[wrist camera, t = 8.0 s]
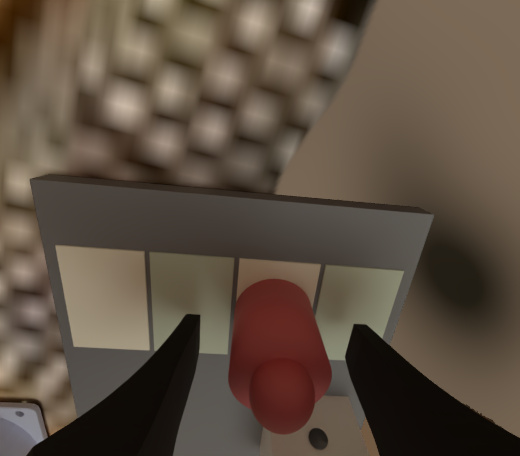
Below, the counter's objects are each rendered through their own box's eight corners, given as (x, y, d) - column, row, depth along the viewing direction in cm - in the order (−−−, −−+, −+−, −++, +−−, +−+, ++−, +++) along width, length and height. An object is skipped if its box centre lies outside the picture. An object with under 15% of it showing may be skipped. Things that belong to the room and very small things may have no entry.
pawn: (232, 339, 15) (219, 464, 9) (237, 275, 13) (227, 378, 8) (304, 344, 15) (333, 468, 10) (317, 281, 14) (360, 385, 8)
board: (95, 441, 19) (85, 462, 18) (49, 174, 13) (27, 179, 11) (342, 448, 20) (348, 468, 19) (419, 207, 14) (435, 215, 13)
